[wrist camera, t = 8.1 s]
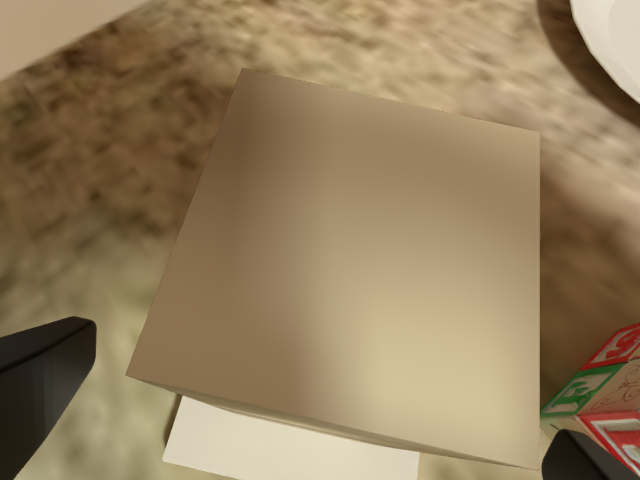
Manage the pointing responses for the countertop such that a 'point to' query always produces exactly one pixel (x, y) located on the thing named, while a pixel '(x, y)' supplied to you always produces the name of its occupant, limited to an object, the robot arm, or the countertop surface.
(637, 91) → the plate
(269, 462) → the tile
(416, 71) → the countertop surface
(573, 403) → the stack of blocks
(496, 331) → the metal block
